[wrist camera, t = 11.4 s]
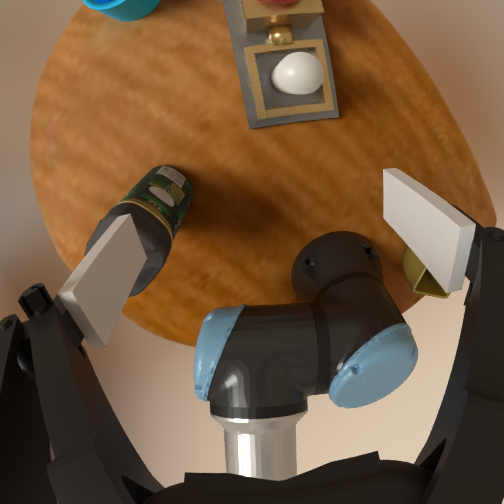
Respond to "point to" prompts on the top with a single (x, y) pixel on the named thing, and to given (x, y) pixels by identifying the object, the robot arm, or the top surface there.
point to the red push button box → (279, 58)
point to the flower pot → (421, 276)
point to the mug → (123, 8)
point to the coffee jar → (152, 218)
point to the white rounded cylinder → (298, 74)
